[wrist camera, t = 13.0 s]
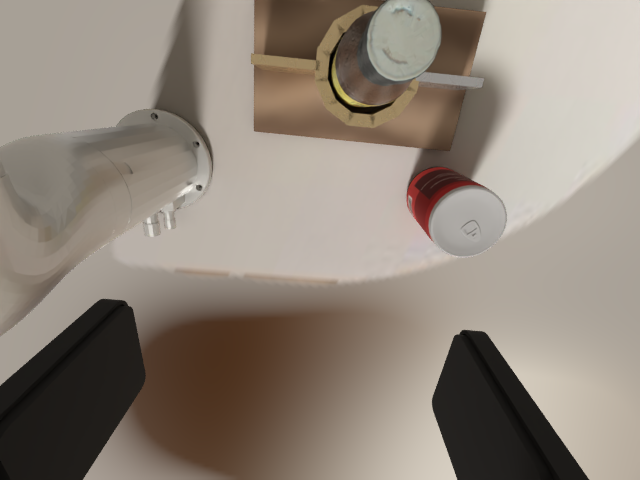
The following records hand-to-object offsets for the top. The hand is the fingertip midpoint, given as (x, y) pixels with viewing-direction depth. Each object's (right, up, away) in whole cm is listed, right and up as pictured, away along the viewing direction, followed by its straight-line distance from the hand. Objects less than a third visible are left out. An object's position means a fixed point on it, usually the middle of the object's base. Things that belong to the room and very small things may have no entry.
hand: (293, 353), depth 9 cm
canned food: (+16, +10, +32) cm, 37 cm away
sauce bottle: (+5, +22, +25) cm, 34 cm away
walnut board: (+5, +22, +26) cm, 35 cm away
